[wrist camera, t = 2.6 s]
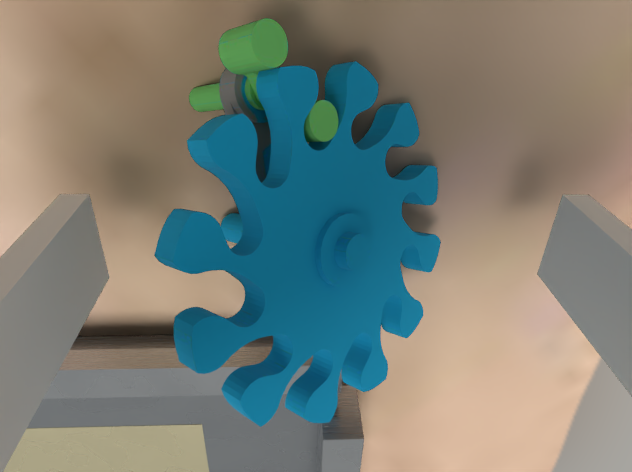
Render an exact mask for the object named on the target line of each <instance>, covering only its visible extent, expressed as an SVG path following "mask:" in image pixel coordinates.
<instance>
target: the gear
mask: <svg viewBox="0 0 632 472" xmlns="http://www.w3.org/2000/svg"><path fill="white" fill-rule="evenodd" d="M218 49H219V56H220V59H221V61H222V63H223V65H224V66H225V67H226V69H225V70H224V72H223V74H222V76H221V79H220V83H216V84H211V85H206V86H200V87H196V88H194V89H193V90H192V91H191V92H190V95H189V101H190V104H191V106H192V107H193V108H194V109H195V110H196V111H199V112H204V111H213V110H222V109H224V112H225V115H222V116H219V117H215V118H213V119H211V120H210V121H208V122H206V123H205V124H204V125H203V126H201V127H200V128H199V129H198V130H197V131H196V132H195V133H194V134H193V135H192V136H191V137H190V138H189V139H188V140H187V144H188V149H189V152H190V155H191V157H192V158H193V159H194V161H195V162H196V163H197V164H198V165H199V166H200V167H202V168H204V169H206V170H208V171H210V172H211V173H213V174H214V175H215V176H216V177H218V178H219V179H220V180H221V181H222V182H223V184H224V185H225V186H226V187H227V188H228V190H229V192H230V193H231V195H232V196H233V198H234V201H235V203H236V205H237V208H238V211H239V214H237V213H231V214H228V215H227V216H226V217H225V218H224V219H223V221H222V223H221V227H220V225H219V223H218V222H217V221H216V219H215V218H213V217H212V216H211V215H208V214H206V213H202V212H196V211H191V210H185V209H174V210H173V211H172V212H171V214H170V215H169V216H168V218H167V220H166V222H165V224H164V226H163V228H162V231H161V234H160V237H159V240H158V244H157V248H156V252H155V257H156V258H157V259H158V260H159V261H160V262H161V263H163V264H164V265H166V266H169V267H172V268H175V269H177V270H180V271H183V272H186V273H190V274H198V273H202V272H206V271H211V270H225V271H226V272H228V273H230V274H231V275H232V276H234V277H235V278H236V279H238V280H239V281H240V282H241V283H242V284H243V286H244V289H245V301H244V304H243V306H242V308H241V309H240V311H239V312H238V313H237V314H236V315H234V316H233V317H230V318H226V319H225V318H223V317H221V316H219V315H216V314H214V313H212V312H210V311H208V310H205V309H203V308H199V307H192V308H188V309H185V310H184V311H182V312H180V313H179V314H178V315H177V316H176V317H175V321H174V341H175V347H176V351H177V355H178V358H179V362H181V363H183V364H184V365H186V366H187V367H189V368H190V369H192V370H193V371H195V372H196V373H200V374H206V373H211V372H213V371H215V370H217V369H218V368H220V367H221V366H222V365H223V364H224V363H225V362H226V361H227V360H228V359H229V358H230V357H231V356H232V355H233V354H234V353H235V352H236V351H238V350H239V349H240V348H241V347H243V346H244V345H246V344H248V343H249V342H251V341H254V340H256V339H258V338H262V337H266V336H273V346H272V349H271V352H270V354H269V355H268V356H267V358H266V359H265V360H263V361H262V362H260V363H258V364H254V365H248V366H243V367H240V368H238V369H236V370H235V371H233V372H232V373H231V374H230V375H229V376H228V377H227V379H226V380H225V382H224V384H223V386H222V388H221V390H222V392H223V395H224V397H225V399H226V400H227V402H228V403H229V404H230V405H231V406H232V407H233V408H234V409H236V410H237V411H238V412H240V413H241V414H242V415H244V416H245V417H247V418H248V419H250V420H251V421H253V422H254V423H256V424H257V425H258V426H260V427H261V426H263V425H265V424H266V423H267V422H268V421H269V420H270V419H271V418H272V417H273V416H274V414H275V413H276V411H277V409H278V406H279V403H280V400H281V398H282V395H283V393H284V391H285V389H286V387H287V385H288V383H289V382H290V380H291V378H292V377H293V376H294V374H295V373H296V372H297V370H298V369H299V368H300V367H301V366H302V365H303V364H304V363H305V362H306V361H307V360H308V359H309V358H311V357H312V356H313V360H312V363H311V365H310V367H309V368H308V370H307V371H306V372H305V373H304V374H303V375H301V376H300V377H299V378H298V379H297V380H296V381H295V382H294V383H293V384H292V386H291V387H290V389H289V391H288V393H287V396H286V400H285V408H287V409H289V410H290V411H292V412H294V413H295V414H297V415H299V416H300V417H302V418H304V419H305V420H307V421H309V422H312V423H327V422H330V421H331V419H332V418H333V416H334V414H335V411H336V408H337V403H338V393H337V391H338V381H339V376H340V372H341V375H342V380H343V382H344V383H346V384H348V385H350V386H352V387H354V388H356V389H358V390H361V391H363V392H365V391H369V390H371V389H373V388H375V387H376V386H378V385H379V384H380V383H381V382H383V381H384V380H385V379H386V376H387V371H388V364H387V360H386V358H385V356H384V354H383V351H382V347H381V340H380V329H381V325H382V327H383V329H384V330H385V331H387V332H390V333H393V334H396V335H398V336H401V337H404V338H408V337H409V336H410V335H411V334H412V332H413V331H414V330H415V328H416V327H417V325H418V324H419V322H420V320H421V318H422V316H423V308H422V305H421V303H420V302H419V301H417V300H415V299H414V298H413V297H411V296H410V294H409V293H408V291H407V289H406V287H405V285H404V281H403V277H402V272H401V267H400V260H401V262H402V264H403V265H404V266H405V267H406V268H410V269H415V270H419V271H424V272H431V271H432V269H433V267H434V265H435V262H436V259H437V256H438V252H439V248H440V243H441V242H440V239H439V238H438V236H436V235H434V234H427V233H420V232H413V231H412V230H411V228H410V227H409V226H408V225H407V224H406V222H405V221H404V219H403V217H402V203H403V201H404V202H405V203H410V204H420V205H432V204H433V203H435V202H436V199H437V192H438V176H437V168H436V167H435V166H431V165H408V166H407V167H405V168H404V169H403V170H402V171H401V172H400V173H399V174H398V175H397V176H395V177H393V178H391V177H390V176H389V174H388V173H387V170H386V166H385V159H386V154H387V152H388V149H389V148H390V147H409V146H412V145H413V144H414V143H415V142H416V141H417V139H418V137H419V128H418V124H417V120H416V117H415V114H414V112H413V110H412V107H411V105H410V103H399V104H388V105H383V106H381V107H380V108H379V109H378V111H377V113H376V115H375V118H374V121H373V123H372V125H371V127H370V129H369V131H368V132H367V133H366V135H365V136H364V137H363V138H362V139H361V140H360V141H359V142H357V143H356V144H354V142H353V140H352V136H351V127H352V123H353V120H354V118H355V117H356V115H357V114H359V113H361V112H363V111H365V110H367V109H369V108H370V107H371V106H372V105H373V104H374V102H375V101H376V98H377V95H378V83H377V81H376V79H375V78H374V77H373V75H372V74H371V73H370V72H369V71H368V70H367V69H366V68H364V67H363V66H362V65H360V64H359V63H358V62H356V61H354V62H348V63H343V64H337V65H333V66H332V67H331V68H330V69H329V71H328V72H327V75H326V78H325V100H317V96H318V90H319V84H318V78H317V74H316V72H315V70H313V69H311V68H309V67H305V66H286V67H279V66H280V65H281V64H283V62H284V61H285V59H286V57H287V53H288V41H287V37H286V34H285V32H284V30H283V28H282V27H281V26H280V25H279V24H278V23H277V22H276V21H274V20H272V19H268V18H265V19H261V20H258V21H255V22H252V23H249V24H246V25H242V26H239V27H236V28H233V29H230V30H228V31H226V32H225V33H224V34H223V35H222V36H221V38H220V41H219V48H218ZM276 67H279V68H276ZM316 100H317V101H316ZM307 142H309V144H308V143H307ZM226 240H227V241H230V242H234V243H237V244H236V245H235V246H234V247H233V248H231V249H230V248H229V246H228V244H227V242H226ZM341 369H342V371H341Z"/></svg>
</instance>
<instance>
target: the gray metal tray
mask: <svg viewBox="0 0 632 472" xmlns="http://www.w3.org/2000/svg"><path fill="white" fill-rule="evenodd" d="M272 346H273V336H266V337H262V338H258V339H256V340H254V341H251V342H249V343H248V344H246V345H244V346H243V347H241V348H240V349H239V350H238V351H236V352H235V353H234V354H233V355H232V356H231V357H230V358H229V359H228V360H227V361H226V362H225V363H224V364H223V365H222V366H221V367H220V368H218V369H217V370H215V371H213V372H211V373H206V374H200V373H196V372H195V371H193V370H192V369H190V368H189V367H187V366H186V365H184V364H183V363H181V362H179V358H178V355H177V351H176V347H175V341H174V335H158V336H84V337H76V339H75V341H74V343H73V345H72V347H71V348H70V350H69V352H68V354H67V356H66V358H65V359H64V361H63V363H62V365H61V367H60V368H59V370H58V372H57V374H56V376H55V378H54V379H53V381H52V383H51V385H50V387H49V389H48V390H47V392H46V394H45V396H44V398H43V399H42V401H41V403H40V405H39V407H38V409H37V410H36V412H35V414H34V416H33V418H32V420H31V421H30V423H29V425H28V427H27V429H26V430H25V432H24V434H23V436H22V438H21V440H20V441H19V443H18V445H17V447H16V449H15V451H14V452H13V454H12V456H11V458H10V460H9V461H8V463H7V465H6V467H5V469H4V471H3V472H360V467H361V459H362V451H363V443H364V436H363V429H362V422H361V416H360V409H359V402H358V396H357V389H356V388H354V387H352V386H350V385H346V386H342V375H341V372H340V376H339V381H338V391H337V393H338V403H337V408H336V411H335V414H334V416H333V418H332V419H331V421H330V422H327V423H312V422H309V421H307V420H305V419H304V418H302V417H300V416H299V415H297V414H295V413H294V412H292V411H290V410H289V409H287V408H285V400H286V396H287V393H288V391H289V389H290V387H291V386H292V384H293V383H294V382H295V381H296V380H297V379H298V378H299V377H300V376H301V375H303V374H304V373H305V372H306V371H307V370H308V368H309V367H310V365H311V363H312V360H313V356H312V357H311V358H309V359H308V360H307V361H306V362H305V363H304V364H303V365H302V366H301V367H300V368H299V369H298V370H297V372H296V373H295V374H294V376H293V377H292V378H291V380H290V382H289V383H288V385H287V387H286V389H285V391H284V393H283V395H282V398H281V400H280V403H279V406H278V409H277V411H276V413H275V414H274V416H273V417H272V418H271V419H270V420H269V421H268V422H267V423H266V424H265V425H263V426H261V427H260V426H258V425H257V424H256V423H254V422H253V421H251V420H250V419H248V418H247V417H245V416H244V415H242V414H241V413H240V412H238V411H237V410H236V409H234V408H233V407H232V406H231V405H230V404H229V403H228V402H227V400H226V399H225V397H224V395H223V392H222V390H221V388H222V386H223V384H224V382H225V380H226V379H227V377H228V376H229V375H230V374H231V373H232V372H233V371H235V370H236V369H238V368H240V367H243V366H248V365H254V364H258V363H260V362H262V361H263V360H265V359H266V358H267V356H268V355H269V354H270V352H271V349H272ZM341 371H342V369H341Z"/></svg>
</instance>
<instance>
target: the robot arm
mask: <svg viewBox="0 0 632 472" xmlns="http://www.w3.org/2000/svg"><path fill="white" fill-rule="evenodd" d="M537 274H538V276H539V277H540V278H541V280H542V281H543V282H544V283H545V285H546V286H547V287H548V289H549V290H550V291H551V293H552V294H553V295H554V296H555V298H556V299H557V300H558V302H559V303H560V304H561V306H562V307H563V308H564V309H565V311H566V312H567V313H568V315H569V316H570V317H571V319H572V320H573V321H574V322H575V324H576V325H577V326H578V328H579V329H580V330H581V331H582V333H583V334H584V335H585V337H586V338H587V339H588V341H589V342H590V343H591V344H592V346H593V347H594V348H595V350H596V351H597V352H598V354H599V355H600V356H601V357H602V359H603V360H604V361H605V363H606V364H607V365H608V367H609V368H610V369H611V370H612V372H613V373H614V374H615V376H616V377H617V378H618V379H619V381H620V382H621V383H622V385H623V386H624V387H625V389H626V390H627V391H628V392H629V394H630V395H631V396H632V229H630V228H629V227H628V226H627V225H625V224H624V223H623V222H622V221H621V220H619V219H618V218H617V217H616V216H614V215H613V214H612V213H611V212H609V211H608V210H607V209H606V208H605V207H603V206H602V205H601V204H600V203H598V202H597V201H596V200H595V199H593V198H592V197H591V196H590V195H562V198H561V201H560V204H559V207H558V211H557V214H556V217H555V220H554V223H553V226H552V229H551V232H550V236H549V239H548V242H547V245H546V248H545V251H544V254H543V258H542V261H541V264H540V267H539V270H538V273H537ZM108 279H109V274H108V270H107V266H106V261H105V257H104V253H103V249H102V245H101V241H100V236H99V232H98V228H97V224H96V220H95V216H94V211H93V207H92V203H91V199H90V195H89V194H60V195H59V196H58V197H57V198H56V199H55V200H54V201H53V202H52V203H51V204H50V205H49V206H48V207H47V208H46V209H45V210H44V212H43V213H42V214H41V215H40V216H39V217H38V218H37V219H36V220H35V221H34V222H33V223H32V224H31V225H30V226H29V228H28V229H27V230H26V231H25V232H24V233H23V234H22V235H21V236H20V237H19V238H18V239H17V240H16V241H15V242H14V243H13V245H12V246H11V247H10V248H9V249H8V250H7V251H6V252H5V253H4V254H3V255H2V256H1V257H0V472H3V471H4V469H5V467H6V465H7V463H8V461H9V460H10V458H11V456H12V454H13V452H14V451H15V449H16V447H17V445H18V443H19V441H20V440H21V438H22V436H23V434H24V432H25V430H26V429H27V427H28V425H29V423H30V421H31V420H32V418H33V416H34V414H35V412H36V410H37V409H38V407H39V405H40V403H41V401H42V399H43V398H44V396H45V394H46V392H47V390H48V389H49V387H50V385H51V383H52V381H53V379H54V378H55V376H56V374H57V372H58V370H59V368H60V367H61V365H62V363H63V361H64V359H65V358H66V356H67V354H68V352H69V350H70V348H71V347H72V345H73V343H74V341H75V339H76V337H77V336H78V334H79V332H80V330H81V328H82V327H83V325H84V323H85V321H86V319H87V317H88V316H89V314H90V312H91V310H92V308H93V306H94V305H95V303H96V301H97V299H98V297H99V296H100V294H101V292H102V290H103V288H104V286H105V285H106V283H107V281H108Z"/></svg>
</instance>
